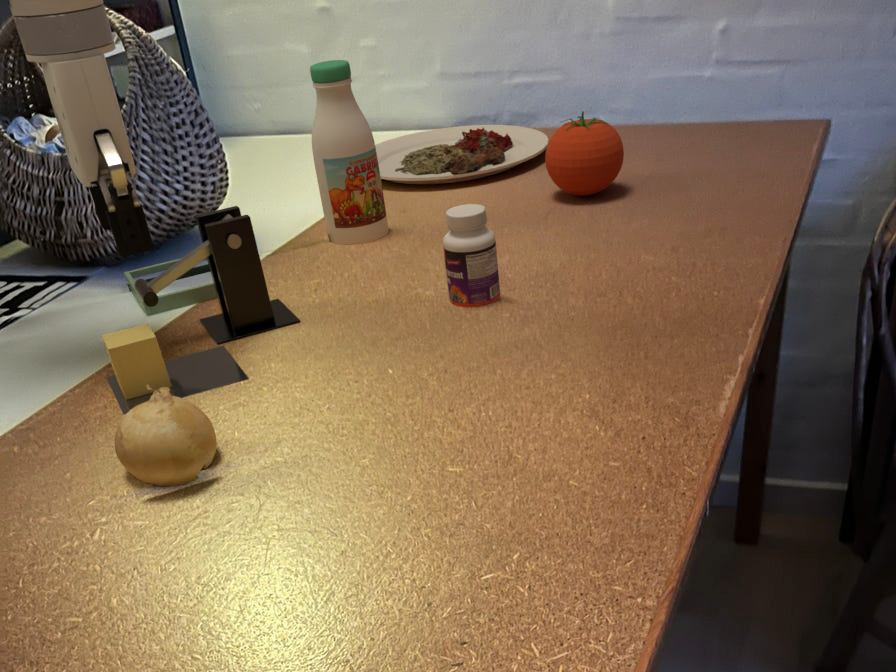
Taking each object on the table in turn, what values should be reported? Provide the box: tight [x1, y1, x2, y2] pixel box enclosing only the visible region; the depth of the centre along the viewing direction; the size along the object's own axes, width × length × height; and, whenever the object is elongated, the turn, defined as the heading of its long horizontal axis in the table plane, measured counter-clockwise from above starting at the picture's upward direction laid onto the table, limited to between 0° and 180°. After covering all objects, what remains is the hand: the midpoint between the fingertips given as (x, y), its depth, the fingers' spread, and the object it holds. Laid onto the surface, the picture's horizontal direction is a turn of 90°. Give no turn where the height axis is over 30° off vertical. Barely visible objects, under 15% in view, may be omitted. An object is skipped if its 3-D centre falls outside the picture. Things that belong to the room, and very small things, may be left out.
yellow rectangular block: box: [100, 323, 172, 400], centre depth 92 cm, size 4×4×5 cm
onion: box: [114, 385, 218, 488], centre depth 79 cm, size 8×8×7 cm
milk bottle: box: [309, 59, 389, 246], centre depth 118 cm, size 8×8×20 cm
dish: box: [123, 257, 218, 317], centre depth 115 cm, size 12×12×3 cm
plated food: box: [375, 124, 549, 185], centre depth 149 cm, size 30×30×3 cm
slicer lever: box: [134, 214, 233, 307], centre depth 98 cm, size 12×5×2 cm, turn 116°
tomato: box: [544, 111, 625, 197], centre depth 127 cm, size 10×10×10 cm
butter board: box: [105, 344, 250, 416], centre depth 95 cm, size 12×10×1 cm
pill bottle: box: [442, 203, 501, 308], centre depth 101 cm, size 5×5×10 cm
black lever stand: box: [194, 205, 301, 346], centre depth 101 cm, size 9×8×12 cm
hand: (127, 239), depth 95 cm, fingers open, 9 cm apart
